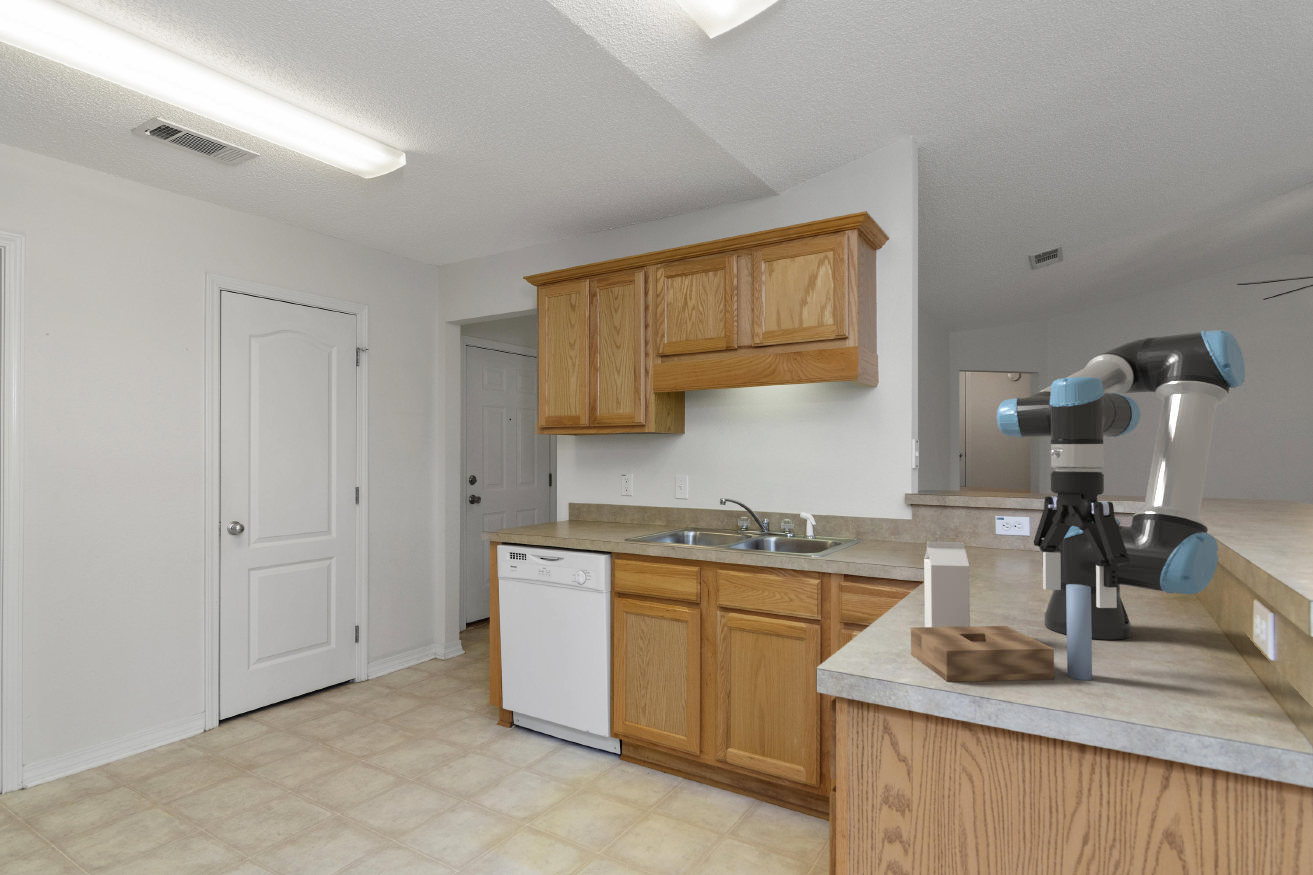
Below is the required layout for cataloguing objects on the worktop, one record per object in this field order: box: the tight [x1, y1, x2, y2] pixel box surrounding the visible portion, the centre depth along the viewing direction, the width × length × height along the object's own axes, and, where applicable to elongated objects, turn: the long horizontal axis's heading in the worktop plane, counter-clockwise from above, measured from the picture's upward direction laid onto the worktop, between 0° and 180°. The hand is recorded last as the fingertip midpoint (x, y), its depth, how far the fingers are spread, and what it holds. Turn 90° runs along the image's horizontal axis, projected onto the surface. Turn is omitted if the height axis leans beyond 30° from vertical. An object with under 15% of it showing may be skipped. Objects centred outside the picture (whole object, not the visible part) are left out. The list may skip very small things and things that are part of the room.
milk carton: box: [923, 541, 971, 627], centre depth 135 cm, size 7×7×19 cm
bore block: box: [910, 625, 1055, 682], centre depth 117 cm, size 18×14×5 cm
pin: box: [1066, 584, 1093, 681], centre depth 112 cm, size 4×4×15 cm
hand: (1077, 598), depth 112 cm, fingers open, 13 cm apart
